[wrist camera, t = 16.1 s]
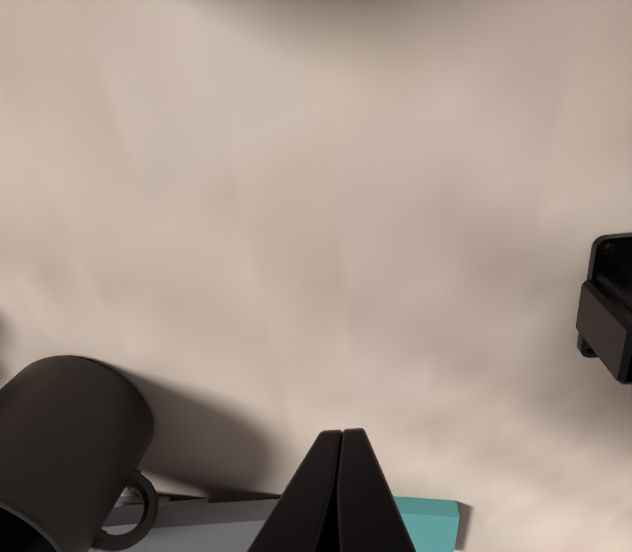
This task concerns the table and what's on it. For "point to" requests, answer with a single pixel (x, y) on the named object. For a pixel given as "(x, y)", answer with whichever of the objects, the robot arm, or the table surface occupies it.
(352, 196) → the table surface
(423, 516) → the domino
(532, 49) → the table surface
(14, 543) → the mug
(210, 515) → the domino
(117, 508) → the domino
